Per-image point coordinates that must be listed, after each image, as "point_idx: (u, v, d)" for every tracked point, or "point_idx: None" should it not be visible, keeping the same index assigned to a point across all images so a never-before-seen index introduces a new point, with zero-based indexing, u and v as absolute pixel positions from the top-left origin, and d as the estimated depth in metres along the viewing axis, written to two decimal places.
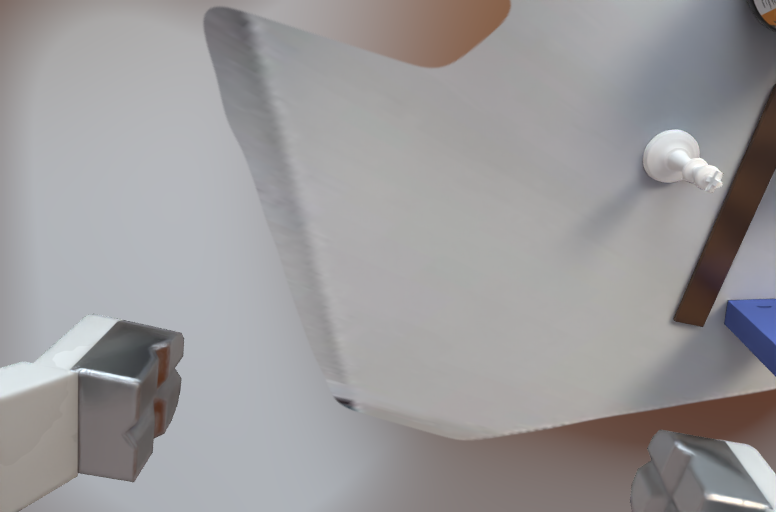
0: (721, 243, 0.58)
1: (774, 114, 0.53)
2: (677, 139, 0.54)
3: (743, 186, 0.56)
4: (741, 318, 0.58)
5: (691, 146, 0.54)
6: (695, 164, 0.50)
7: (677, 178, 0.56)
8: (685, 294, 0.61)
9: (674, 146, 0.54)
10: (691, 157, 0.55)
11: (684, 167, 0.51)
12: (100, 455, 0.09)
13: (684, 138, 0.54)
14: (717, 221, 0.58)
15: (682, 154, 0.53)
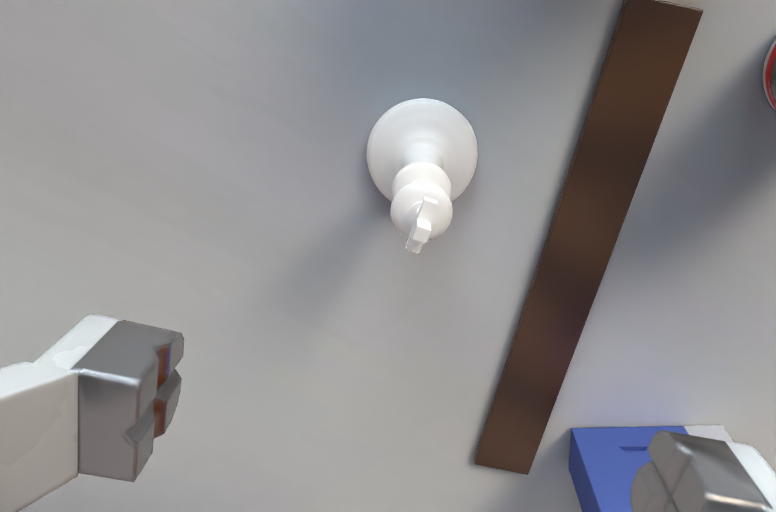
0: (544, 328, 0.29)
1: (627, 64, 0.24)
2: (422, 119, 0.25)
3: (576, 217, 0.27)
4: (584, 476, 0.29)
5: (454, 135, 0.25)
6: (415, 177, 0.21)
7: None
8: (488, 418, 0.32)
9: (416, 134, 0.25)
10: (456, 158, 0.26)
11: (395, 183, 0.22)
12: (100, 455, 0.09)
13: (438, 118, 0.25)
14: (532, 286, 0.29)
15: (422, 152, 0.24)
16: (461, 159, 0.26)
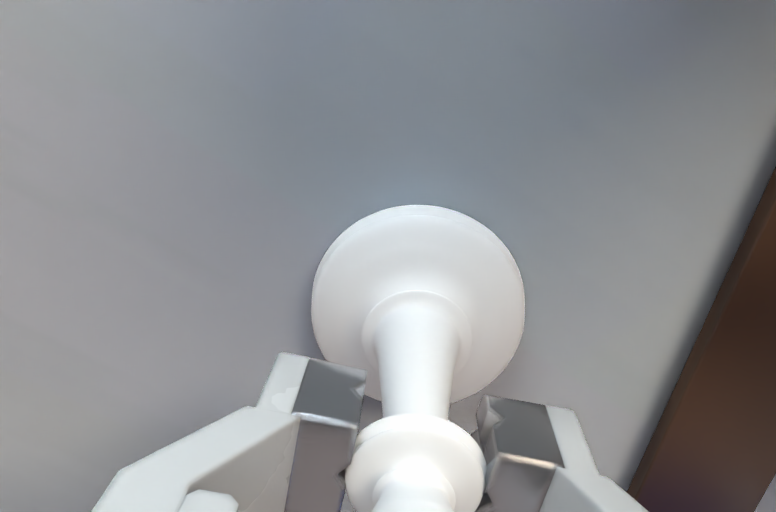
0: None
1: None
2: (417, 251, 0.12)
3: (710, 421, 0.14)
4: None
5: (482, 282, 0.13)
6: (397, 458, 0.08)
7: None
8: None
9: (404, 282, 0.12)
10: (486, 324, 0.13)
11: None
12: (308, 496, 0.09)
13: (449, 249, 0.12)
14: None
15: (416, 333, 0.11)
16: (495, 326, 0.13)
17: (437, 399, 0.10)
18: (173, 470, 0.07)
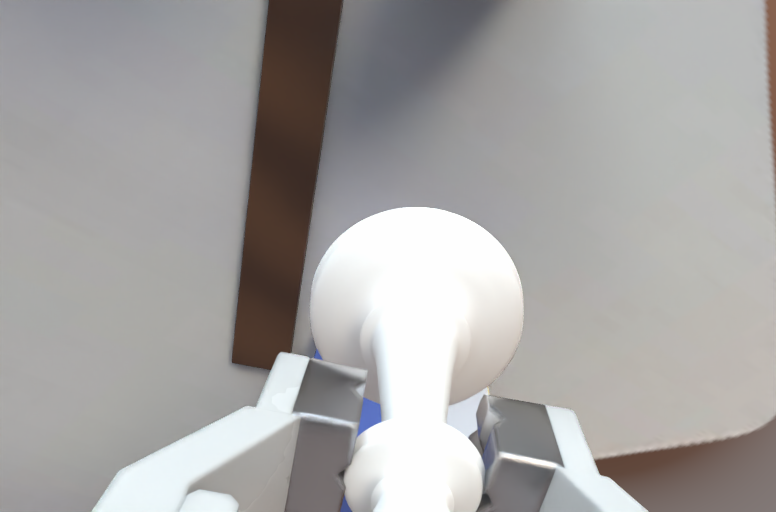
0: (271, 209, 0.28)
1: None
2: (416, 254, 0.12)
3: (280, 83, 0.26)
4: None
5: (480, 285, 0.13)
6: (396, 461, 0.08)
7: None
8: None
9: (403, 284, 0.12)
10: (484, 326, 0.13)
11: None
12: (308, 496, 0.09)
13: (447, 251, 0.12)
14: (252, 163, 0.28)
15: (415, 335, 0.11)
16: (493, 328, 0.13)
17: (436, 402, 0.10)
18: (174, 470, 0.07)
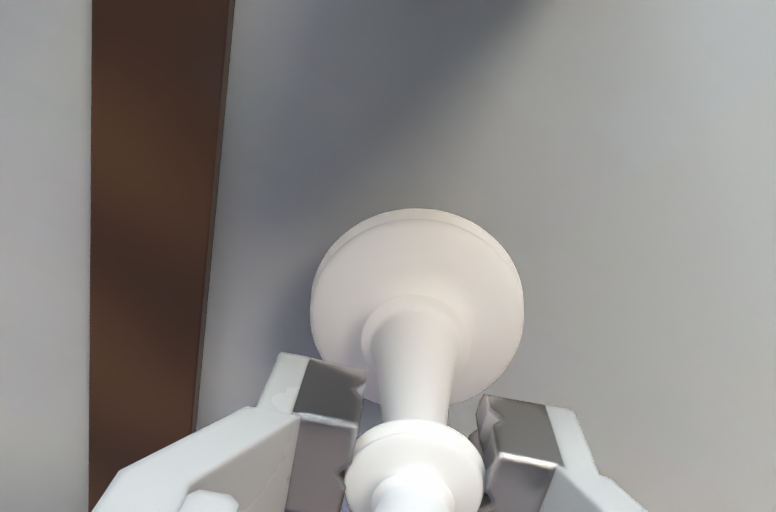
0: (130, 355, 0.17)
1: None
2: (416, 255, 0.12)
3: (126, 148, 0.14)
4: None
5: (481, 286, 0.13)
6: (396, 463, 0.08)
7: None
8: None
9: (403, 286, 0.12)
10: (485, 327, 0.13)
11: None
12: (308, 495, 0.09)
13: (447, 253, 0.12)
14: None
15: (416, 336, 0.11)
16: (494, 329, 0.13)
17: (436, 403, 0.10)
18: (174, 470, 0.07)
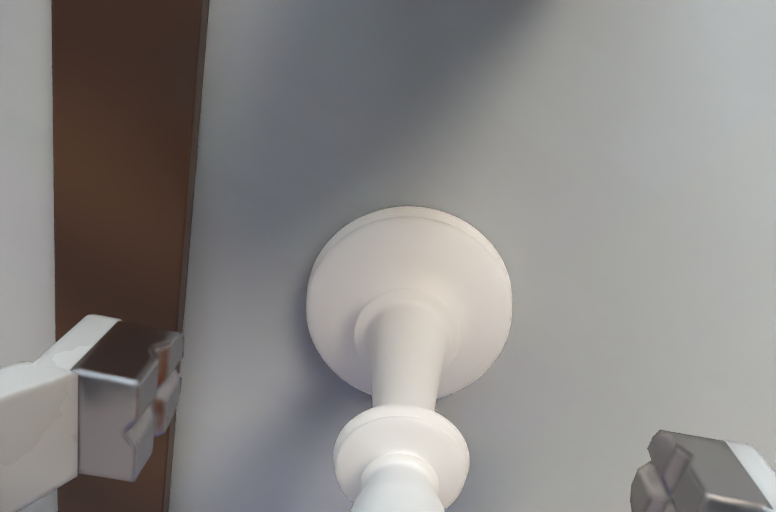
0: None
1: None
2: (408, 251, 0.13)
3: (91, 166, 0.13)
4: None
5: (470, 281, 0.13)
6: (384, 445, 0.09)
7: None
8: None
9: (395, 280, 0.13)
10: (474, 321, 0.13)
11: (339, 448, 0.09)
12: (100, 455, 0.09)
13: (438, 249, 0.13)
14: None
15: (406, 328, 0.12)
16: (483, 323, 0.13)
17: (424, 391, 0.10)
18: None
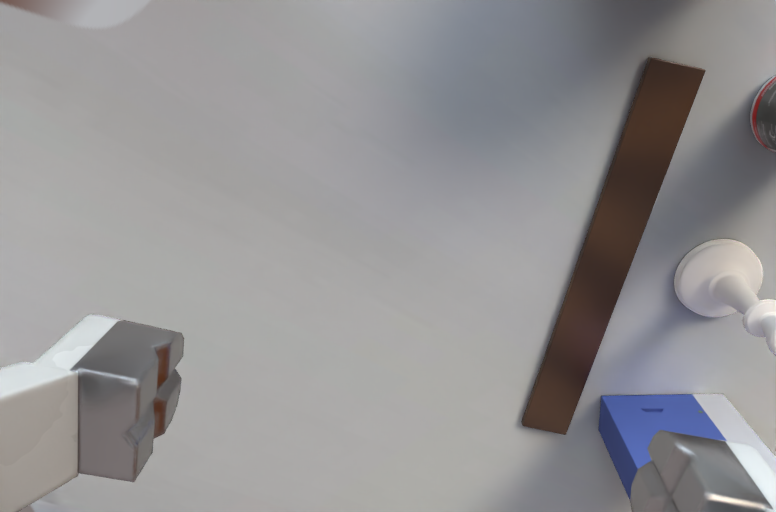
0: (582, 311, 0.37)
1: (649, 108, 0.33)
2: (729, 256, 0.35)
3: (609, 223, 0.35)
4: (614, 430, 0.37)
5: (751, 267, 0.35)
6: (766, 310, 0.31)
7: (727, 312, 0.36)
8: (535, 386, 0.39)
9: (725, 266, 0.35)
10: (750, 283, 0.35)
11: (747, 313, 0.31)
12: (100, 455, 0.09)
13: (741, 255, 0.35)
14: (573, 277, 0.37)
15: (740, 282, 0.34)
16: (753, 283, 0.35)
17: (760, 300, 0.32)
18: None
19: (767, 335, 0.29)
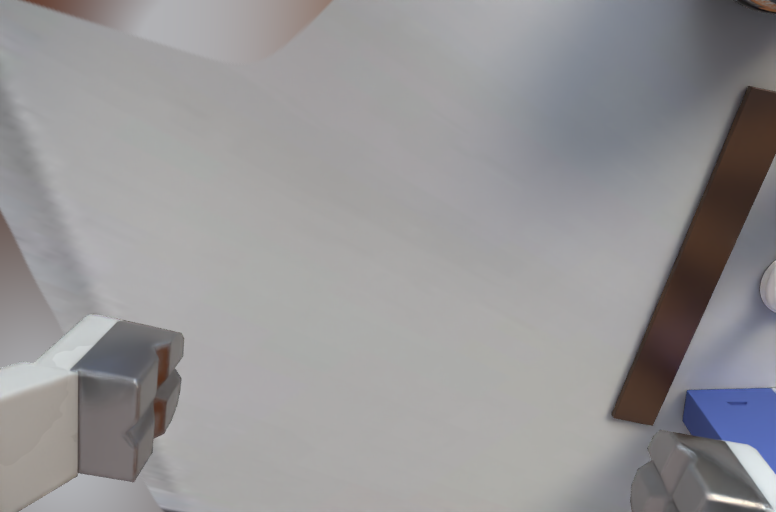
0: (674, 314, 0.41)
1: (747, 132, 0.36)
2: None
3: (704, 235, 0.38)
4: (704, 421, 0.41)
5: None
6: None
7: None
8: (626, 382, 0.43)
9: None
10: None
11: None
12: (100, 455, 0.09)
13: None
14: (668, 284, 0.40)
15: None
16: None
17: None
18: None
19: None
